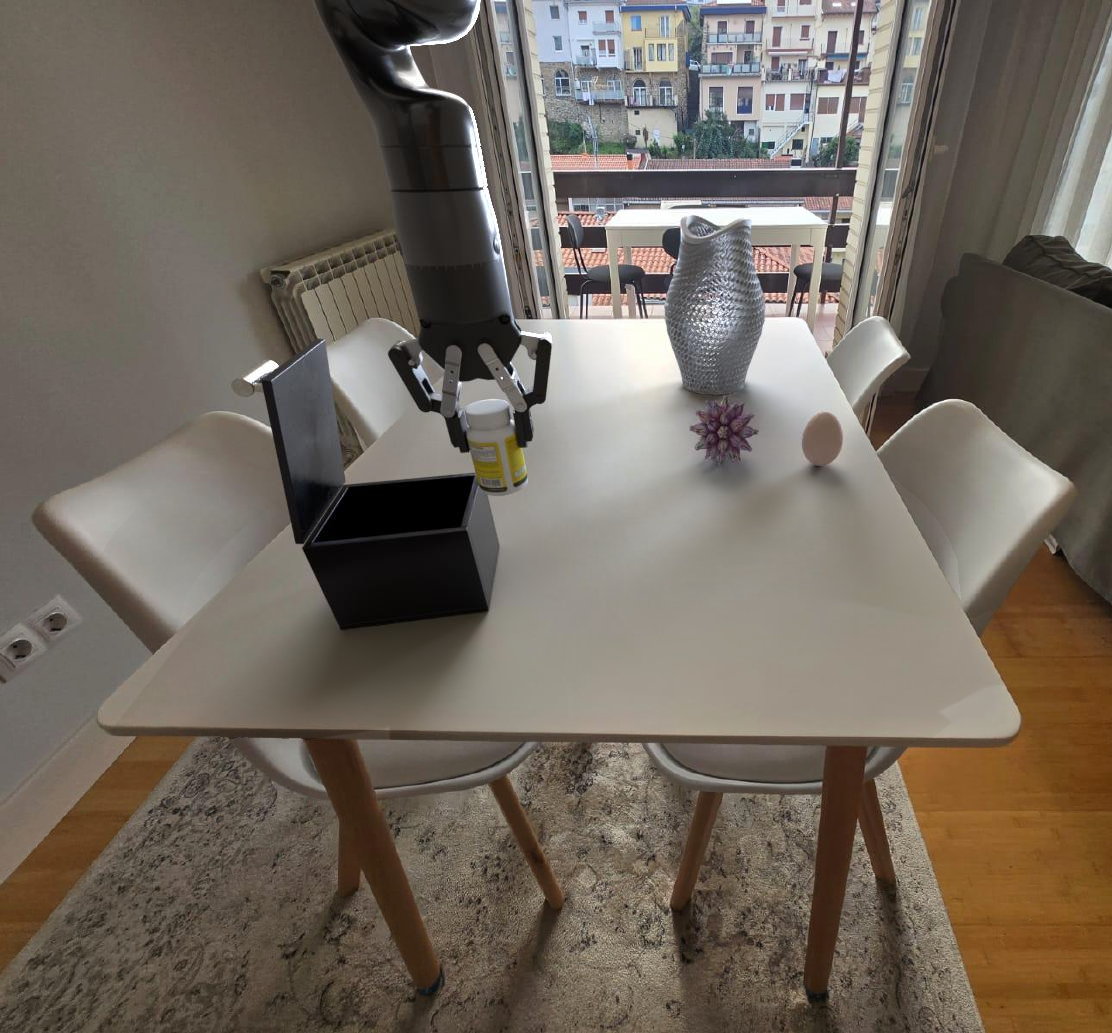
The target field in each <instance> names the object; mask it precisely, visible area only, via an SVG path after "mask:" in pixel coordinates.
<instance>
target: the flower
mask: <svg viewBox="0 0 1112 1033" xmlns="http://www.w3.org/2000/svg"><path fill="white" fill-rule="evenodd" d="M705 404H706V411H705V410H701V409H700V408H697V410H696V411H695V415H696V416H697V417H698V420H699V422H697V423H696V424H694V425H693V424H692V425H689V429H688V430H689V432H693V433H694V434H696V435H697V436H700V437H699V438H698V439H697V442H696V443H695V444H694V446H693V447H694V449H695V451H700V450H706V451H705V455H704V457H703V458H704V460H708V458H710V460H711V461H714V460H715V459H716V458H717V465H718V466H722V465H723V462H724V461H725V459H726V458H728V459H729V461H730V462H731V463H733V462H737V463H739V462H741V461H742V459H741V451H747V452H749V453H751V452H752V451H753V448H752V446H751V445H750V443H749V442H748V440H747V439H749V438H752V437H753V436H756V435H757V436H758V435H759V432H760V430H759V429H754V428H753V427H752V426H750V425H748V424H749V423H750V421H751V420H752V419H753V418H755V416H756V415H755V414H754V413H753V412H749V413H744V407H745V405H746V402H744V401H743V400H742V401H741V402H740V403H738V402H735V401H733V403H732V404H730V401H729V396H728V395H723V399H722V401H721V402H720V404H719V401H718V400H714V401H713V402H711V400H709V399H707V400H705Z"/></svg>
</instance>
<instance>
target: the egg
mask: <svg viewBox="0 0 1112 1033" xmlns="http://www.w3.org/2000/svg"><path fill="white" fill-rule="evenodd" d="M843 444H844V432H843V428H842V425H841V422H840V420H839V419H838V417H837V416H836V415H835V414H833V413H832V412H830V411H827V410H823V411H820V412H817V413H816V414H814V415H813V416H812V417H811V418H810V419H809V421H808V422H807V424H806V425H805V428H804V429H803V432H802V436H801V449H802V453H803V456H804V457H805V458H806V459H807V461H808V462H809V463H810V464H812V465H814V466H817V467H824V466H828V465H829V464H831V463H833V462H834V461H835V460H836V459H837V458H838V456H839V454H840V453H841V451H842V449H843Z"/></svg>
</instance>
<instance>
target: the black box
mask: <svg viewBox="0 0 1112 1033" xmlns="http://www.w3.org/2000/svg"><path fill="white" fill-rule="evenodd" d="M493 516H494V515H493V512H492V507H491V503H490V499H489V495H487V494H485V493H483V492H482V491H481V490H480V487H479V484H478V480H477V476H476V472H467V473H457V474H446V475H445V474H444V475H433V476H423V477H422V476H421V477H412V478H411V477H410V478H401V479H393V480H381V481H369V482H359V483H358V482H357V483H349V484H344V485H343V486H342V488H341V489H340V491H339V492H338V494H337V495H336V497H335V498H334V500H333V501H332V503H331V504H330V506H329V507H328V509H327V510H326V512H325V513H324V515H323V516H322V518H321V519H320V521H319V522H318V524H317V525H316V527H315V528H314V530H313V531H312V533H311V534H310V536H309V537H308V539H307V540H306V542H305V543H304V544H302V547H301V550H302V551H303V554H304V556H305V558H306V560H307V562H308V564H309V566H310V569H311V570H312V573H313V575H314V577H315V579H316V582H317V583H318V585H319V588H320V590H321V591H322V594H323V596H324V598H325V600H326V602H327V604H328V606H329V609H330V610H331V611H330V612H332V615H333V618H334V619H335V621H336V623H337V625H338V628H339V630H340V631H345V630H353V629H361V628H369V627H377V626H383V625H384V626H385V625H392V624H400V623H408V622H415V621H423V620H430V619H439V618H447V617H455V616H463V615H470V614H477V613H485V612H486V613H487V612H490V608H491V601H492V595H493V588H494V583H495V577H496V571H497V565H498V558H499V553H500V546H501V545H500V542H499V541H500V540H499V537H498V532H497V529H496V528H497V527H496V525H495V524H496V523H495V521H494V517H493Z"/></svg>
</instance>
